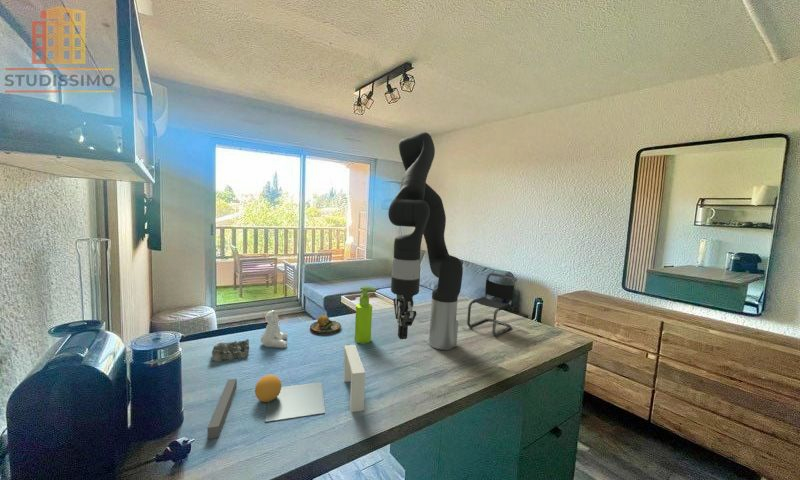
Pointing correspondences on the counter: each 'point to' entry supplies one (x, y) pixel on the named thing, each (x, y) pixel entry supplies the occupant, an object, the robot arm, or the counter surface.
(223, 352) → the egg carton
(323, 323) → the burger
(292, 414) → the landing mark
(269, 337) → the seated beast figurine
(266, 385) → the ball
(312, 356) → the counter surface
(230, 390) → the wall
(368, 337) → the soap dispenser
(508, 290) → the chair
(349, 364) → the bridge
